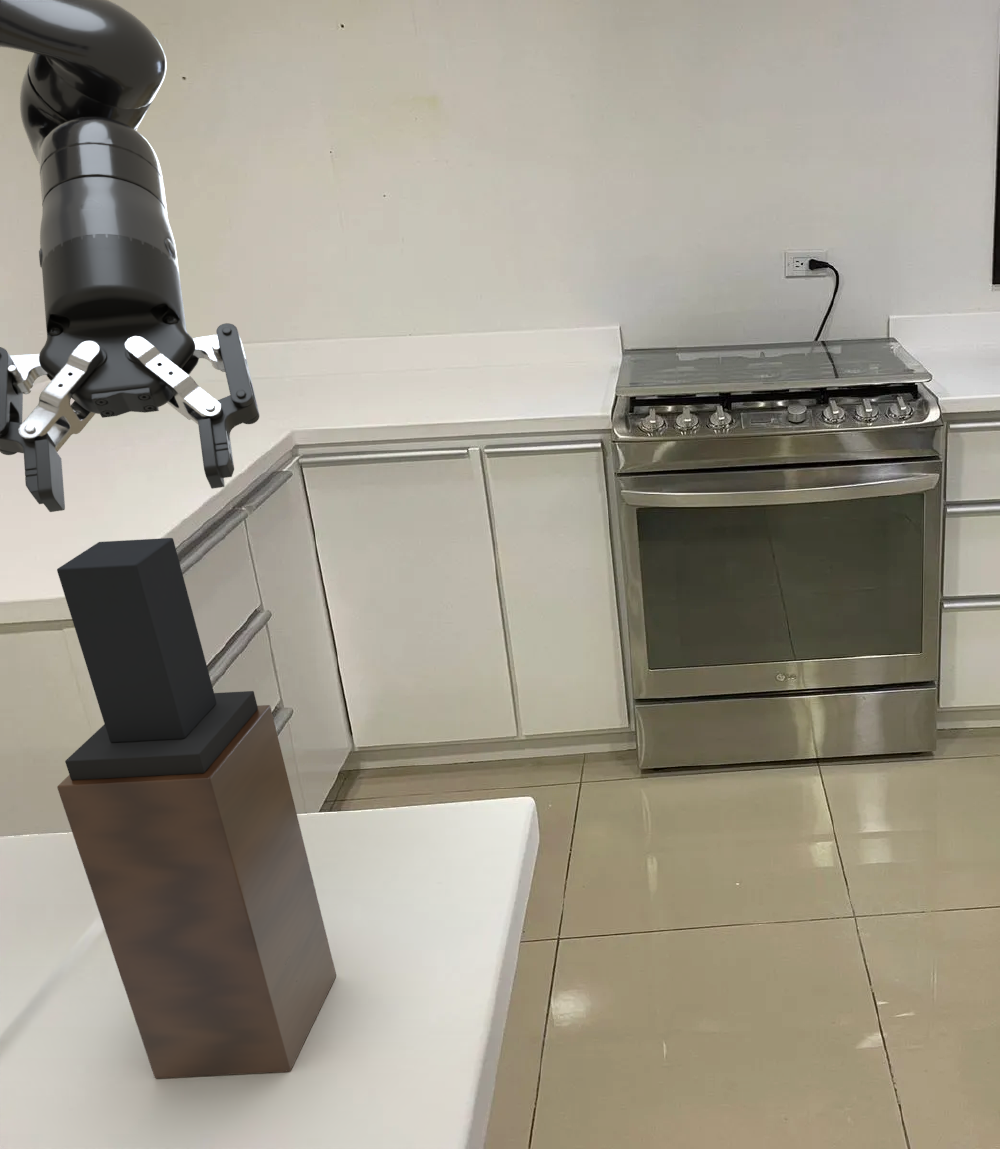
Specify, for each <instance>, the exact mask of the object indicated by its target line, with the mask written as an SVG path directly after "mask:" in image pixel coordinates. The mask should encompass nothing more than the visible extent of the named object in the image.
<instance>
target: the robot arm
mask: <svg viewBox="0 0 1000 1149" xmlns="http://www.w3.org/2000/svg"><path fill="white" fill-rule="evenodd" d="M0 48H8V49H12V50H13V49H14V50H18V51H24V52H29V53H31V54H32V53H33V54H32V56H31V59H30V61H29V64H28V65H27V68H26V69H25V72H24V74H23V77H22V81H21V85H20V86H21V87H20V93H19V94H20V95H19V109H20V110H19V113H20V119H21V123H22V126H23V130H24V132H25V134H26V138H27V139H28V141H29V142H28V143H29V144H30V147H31V150H32V153H33V155H34V157H35V158H36V160H37V162H38V164H39V180H40V194H41V206H42V210H41V211H42V212H41V221H40V230H39V247H40V248H39V250H38V260H39V267H40V268H41V273H42V274H41V276H42V289H43V301H44V303H43V304H44V315H45V329H46V341H45V343H44V346H42V348H41V350H40V351H39V353H32V354H29V353H28V354H12V355H10V354H9V352H8V350H7V349H6V348H5V347H2V346H0V453H1V454H2V455H5V456H12V455H15V454H17V453H19V454H23V460H24V461H23V462H24V466H23V467H24V476H25V478H24V479H25V480H24V482H25V487H26V488H27V490H28V492H29V493H30V494H31V496H32V498H34V499H35V501H36V502H37V503H38V505H44V506H45V508H46V509H47V510H48V512H49V513H54V512H62V511H65V510H66V504H65V503H66V502H65V490H64V477H63V463H62V462H63V461H62V458H61V455H60V454H59V453H58V452H59V451H60V449H61V448H62V447H63V446H64V445H65V444H66V442H67V441H68V440H69V439H70V437H71V436H72V435H79V433H81V432H82V430H83V429H84V428H85V427H87V425H88V423H89V422H90V421H91V420H92V419H93V417H94V416H95V415H96V414H97V415H100V416H101V418H111V417H118V416H121V415H124V414H127V413H130V412H133V413H153V412H159V411H160V410H159V409H160V407H162V406H165V405H166V404H168V405H169V406H170V407H172V408H173V409H174V410H175V411H177V412H178V413H179V414H180V415H182V416H183V417H184V418H185V419H187V420H189V421H193V422H194V423H196V424H197V425H198V432H199V440H200V448H201V456H202V464H203V471H204V475H205V477H206V480H207V482H208V484H209V487H210V488H211V489H212V490H213V489H221V488H225V485H226V484H225V479H226V478H232V477H233V474H234V471H235V462H234V457H233V450H232V449H233V448H232V442H231V432H232V430H233V429H234V428H235V427H237V426H239V425H241V424H245V425H253V424H255V423H256V422H258V421H259V419H260V411H259V406H258V403H257V399H256V398H257V397H256V394H255V389H254V385H253V381H252V376H251V372H250V368H249V363H248V359H247V355H246V350H245V347H244V345H243V342H242V339H241V337H240V333H239V330H238V328H237V326H236V325H235V324H233V323H227V322H226V323H222V324H220V325H219V326H217V329H216V334H211V335H204V336H197V337H192V336H191V335H190V334H189V333H188V331H187V324H186V314H185V307H184V301H183V300H184V298H183V292H182V284H181V278H180V268H179V261H178V255H177V254H178V253H177V246H176V241H175V238H174V235H173V234H174V233H173V231H172V227H171V225H170V222H169V221H170V220H169V216H168V208H167V200H166V192H165V185H164V184H165V183H164V179H163V178H164V177H163V173H162V168H161V165H160V161H159V158H158V156H157V153H156V152H155V150H154V148H153V146H152V145H151V144H150V143H149V141H148V139H146V138H145V136H144V135H142V134H141V133H140V132H139V131H138V129H139V127H140V124H141V123H142V121H143V119H144V117H145V116H146V113H147V112H148V110H149V108H150V107H151V105H152V103H153V101H154V99H155V98H156V95H157V93H158V92H159V90H160V88H161V86H162V84H163V82H164V80H165V77H166V73H167V66H168V65H167V57H166V53H165V51H164V49H163V47H162V45H161V43H160V42H159V39H157V37H156V35H155V34H154V33H153V31H151V29H150V28H149V27H148V26H147V25H146V24H145V23H144V22H143V21H142V20H140V18H138V17H137V16H136V15H134V14H133V13H132V12H131V11H129V10H128V9H126V8H124V7H122V6H121V5H119V4H117V3H116V2H113V1H112V0H0ZM200 359H205V360H207V361H209V362H210V364H211V367H213V368H214V369H215V370H216V371H217V370H218V371H220V372H222V373H225V377H226V382H227V386H228V390H229V395H227V396H224V397H223V398H220V399H217V398H215V397H213V395H211V394H209V392H208V391H206V390H205V389H203V387H201V386H199V385H198V383H197V382H196V381H195V380H194V378H193V377H192V376H191V373H192V372H193V371H194V369H196V367H197V365H198V363H199V360H200ZM42 376H43V377H44V376H46V377H47V378H48V380H50V382H49V383H48V384H47V385H46V386H45V387H44V389H43V390H42V391H41V392H40V393H39V397H38V403H37V405H36V406H35V407H34V409H33V410H32V411H31V412H30V413H29V414H28V415H27V417H26V418H25V419H24V420H23V411H24V410H23V409H24V408H23V405H24V404H23V402H24V395H29V394H31V392H32V388H33V387H34V384H35V381H36V380H37V379H38V378H40V377H42ZM71 399H72V400H73V402H72V403H71Z"/></svg>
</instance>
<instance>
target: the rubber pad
mask: <svg viewBox="0 0 1000 1149" xmlns="http://www.w3.org/2000/svg"><path fill="white" fill-rule="evenodd" d="M214 695H215V698H216V705H215V706H214V707H213V708H212V709H211V710H210V711H209V712H208V713H207V715H206V716H205V717H204V718H203V719H202V720H201V721H200V722H199V723H198V724H197V725H196V727H195V728H194V729H193V730H192V731H191V732H190V733H189V734H188V735H187V736H186V738H184V739H171V740H153V741H134V742H116V743H111V742H110V740H109V737H108V733H107V730H106V727H105V724H103V725H102V726H101V727H100V728H98V729H97V730H96V731H95V733H93V734H92V735H91V736H90V737H89V738H88V739H87V740H86V741H85V742H83V743H82V744H81V745H80V747H78V748H77V749H76V750H75V751H74V752H73V753H72V754H71V755H70V756H69V757H68V758H67V759H65V761H64V762H65V766H66V768H67V771H68V776H69V775H70V778H71V780H87V779H106V778H125V777H143V776H162V775H181V774H199V773H205V772H206V770H207V769H208V768H209V767H210V766H211V764H212V763H213V762H214V761H215V760H216V758H217V757H218V756H219V755H220V754H221V752H222V751H223V750H224V749H225V748H226V746H227V745H228V744H229V743H230V742H231V741H232V739H233V738H234V737H235V736H236V735H237V733H238V732H239V731H240V730H241V729H242V727H243V726H244V725H245V724H246V723H247V721H248V720H249V719H250V718H251V717H252V715H253V714H254V713H255V712H256V711H257V709H258V707H257V706H258V702H257V699H256V694H255V691H254V690H244V691H225V692H214Z"/></svg>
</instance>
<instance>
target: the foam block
mask: <svg viewBox="0 0 1000 1149" xmlns="http://www.w3.org/2000/svg"><path fill="white" fill-rule="evenodd" d="M56 572H57V575H58V579H59V582H60V585H61V587H62V591H63V595H64V598H65V600H66V604H67V607H68V610H69V614H70V617H71V621H72V623H73V627H74V630H75V633H76V636H77V639H78V643H79V646H80V649H81V652H82V655H83V659H84V663H85V665H86V668H87V671H88V675H89V678H90V681H91V685H92V688H93V691H94V695H95V697H96V701H97V704H98V707H99V710H100V713H101V717H102V719H103V723H104V724H105V727H106V730H107V733H108V737H109V740H110V742H111V743H116V742H134V741H153V740H171V739H184V738H186V736H187V735H188V734H189V733H190V732H191V731H192V730H193V729H194V728H195V727H196V725H197V724H198V723H199V722H200V721H201V720H202V719H203V718H204V717H205V716H206V715H207V713H208V712H209V711H210V710H211V709H212V708H213V707H214V706H215V705H216V698H215V695H214V693H215V691H214V687H213V684H212V680H211V676H210V673H209V669H208V666H207V662H206V661H207V660H206V657H205V653H204V650H203V646H202V643H201V639H200V635H199V631H198V627H197V624H196V620H195V616H194V612H193V608H192V604H191V601H190V597H189V593H188V590H187V586H186V583H185V579H184V574H183V570H182V567H181V563H180V560H179V556H178V552H177V548H176V545H175V540H174V538H173V537H164V538H162V537H161V538H146V539H143V538H142V539H125V540H111V541H109V540H108V541H98V542H97V543H94V544H93V545H92V546H91V547H88V548H87V549H86V550H84V551H83V552H81V553H79V554H78V555H76V556H75V557H73V558H72V559H70V560H69V561H67V562H65V563H64V564H63V565H61V566H59V567H58V568H57V569H56ZM104 724H103V725H104Z"/></svg>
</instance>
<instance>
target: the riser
mask: <svg viewBox="0 0 1000 1149" xmlns="http://www.w3.org/2000/svg"><path fill="white" fill-rule="evenodd" d="M257 707H258V709H257V711H256V712H255V713H254V714H253V715H252V717H251V718H250V719H249V720H248V721H247V723H246V724H245V725H244V726H243V727H242V729H241V730H240V731H239V732H238V733H237V735H236V736H235V737H234V738H233V739H232V741H231V742H230V743H229V744H228V745H227V746H226V748H225V749H224V750H223V751H222V752H221V754H220V755H219V756H218V757H217V758H216V760H215V761H214V762H213V763H212V764H211V766H210V767H209V768H208V769H207V770H206V772H205V773H199V774H181V775H162V776H143V777H125V778H106V779H87V780H71V778H70V775H69V774H68V775H67V776H66V777H65V778H64V779H63V780H62V781H61V782H60V783H59V784H57V786H56V788H57V791H58V794H59V797H60V800H61V803H62V806H63V810H64V813H65V815H66V819H67V821H68V824H69V827H70V830H71V833H72V836H73V839H74V841H75V842H74V843H75V846H76V848H77V851H78V854H79V856H80V860H81V863H82V865H83V869H84V871H85V874H86V878H87V880H88V883H89V887H90V889H91V892H92V895H93V898H94V901H95V905H96V907H97V909H98V914H99V917H100V919H101V922H102V926H103V928H104V932H105V935H106V937H107V940H108V943H109V946H110V950H111V952H112V955H113V958H114V961H115V963H116V967H117V970H118V973H119V976H120V979H121V982H122V984H123V985H122V986H123V988H124V990H125V991H124V992H125V993H126V996H127V999H128V1002H129V1005H130V1008H131V1011H132V1015H133V1017H134V1021H135V1023H136V1027H137V1029H138V1032H139V1035H140V1038H141V1041H142V1044H143V1047H144V1050H145V1053H146V1057H147V1059H148V1063H149V1065H150V1068H151V1071H152V1074H153V1077H154V1079H168V1078H187V1077H207V1076H226V1075H227V1076H228V1075H243V1074H245V1075H246V1074H247V1075H248V1074H263V1073H279V1072H280V1073H283V1072H284V1073H285V1072H291V1071H292V1069H293V1067H294V1064H295V1063H296V1060H297V1058H298V1056H299V1054H300V1052H301V1050H302V1048H303V1045H304V1044H305V1042H306V1040H307V1037H308V1035H309V1034H310V1032H311V1029H312V1027H313V1025H314V1023H315V1021H316V1019H317V1017H318V1016H319V1012H320V1010H321V1008H322V1006H323V1004H324V1002H325V1000H326V998H327V996H328V994H329V992H330V989H331V987H332V986H333V984H334V982H335V979H336V977H337V972H336V968H335V964H334V960H333V955H332V952H331V948H330V943H329V939H328V935H327V932H326V927H325V924H324V919H323V915H322V911H321V908H320V907H321V906H320V903H319V898H318V894H317V891H316V890H317V889H316V886H315V883H314V878H313V875H312V870H311V866H310V862H309V858H308V854H307V850H306V845H305V841H304V838H303V834H302V829H301V826H300V821H299V817H298V814H297V810H296V805H295V801H294V797H293V792H292V789H291V785H290V780H289V777H288V773H287V768H286V765H285V761H284V760H285V759H284V756H283V752H282V748H281V744H280V740H279V735H278V731H277V728H276V724H275V720H274V715H273V712H272V711H273V710H272V707H271V705H270V704H263V705H262V704H261V705H257Z"/></svg>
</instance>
